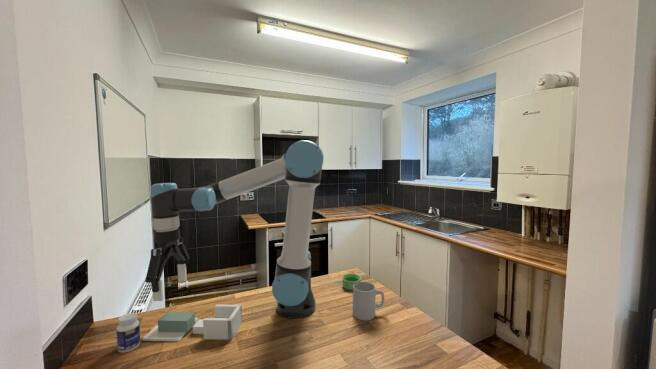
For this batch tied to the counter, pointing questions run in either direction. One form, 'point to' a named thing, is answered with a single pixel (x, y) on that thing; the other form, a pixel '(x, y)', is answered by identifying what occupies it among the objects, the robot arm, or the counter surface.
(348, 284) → the ramekin
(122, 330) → the pill bottle
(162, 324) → the bar
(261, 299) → the counter surface
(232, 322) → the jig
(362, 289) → the mug
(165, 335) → the plate
